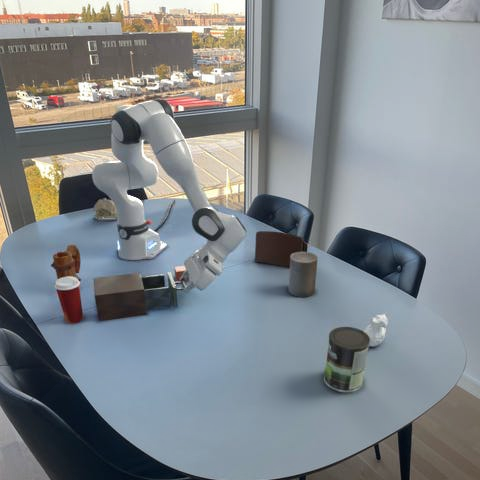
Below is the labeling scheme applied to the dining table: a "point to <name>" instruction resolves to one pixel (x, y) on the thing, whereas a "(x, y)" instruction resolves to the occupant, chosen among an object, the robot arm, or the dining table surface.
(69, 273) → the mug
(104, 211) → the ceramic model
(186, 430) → the dining table surface
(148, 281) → the drawer
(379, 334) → the bust
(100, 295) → the cabinet
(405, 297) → the dining table surface
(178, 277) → the block
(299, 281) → the pillar candle
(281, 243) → the letter holder
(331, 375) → the coffee can
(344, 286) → the dining table surface
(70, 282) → the paper cup
